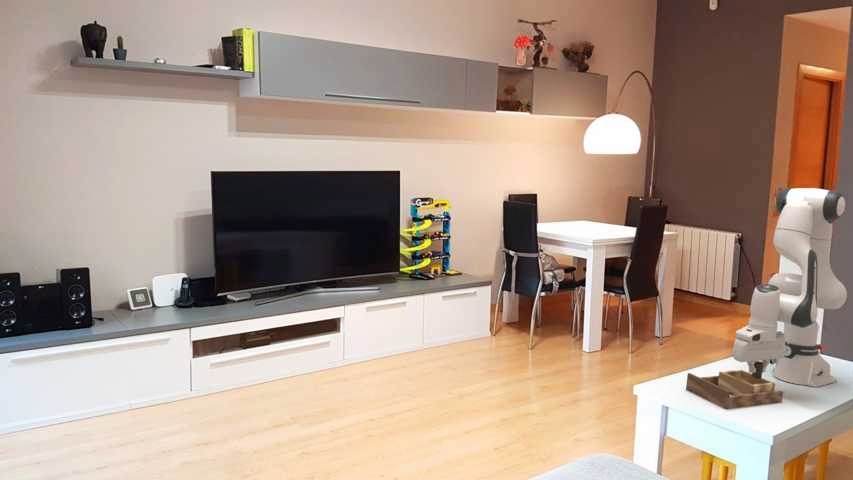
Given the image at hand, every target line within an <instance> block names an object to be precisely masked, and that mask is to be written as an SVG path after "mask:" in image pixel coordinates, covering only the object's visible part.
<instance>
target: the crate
mask: <svg viewBox="0 0 853 480" xmlns="http://www.w3.org/2000/svg"><path fill="white" fill-rule="evenodd" d="M754 367H755V368H756V373H750V372H749V371H746V370H743V369H735V370H734V369H732V370H723V371H719V372H718V376H719V378H718V386H719V387H721V388H724V389H726V390H728V391H730V396H735V395H744V394H753V393H762V392H770V391H775V388H776V387H775V386H776V383H774V382H772V381H770V380H767V379H765V378H762V376H763V372H762V370H763V361H761V360H759V361H755V364H754Z"/></svg>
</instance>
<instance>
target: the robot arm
mask: <svg viewBox="0 0 853 480" xmlns="http://www.w3.org/2000/svg"><path fill="white" fill-rule="evenodd" d="M845 208H846V198H845V196H844V195H843V193H842V192H840V191H838V190H837V191H836V190H835V189H831V190H828V189H823V188H817V187H810V188H806V187H804V188H803V187H800V188H799V187H797V188H796V187H786V188H785V187H784V188H782V189H781V190H780V191H779V192H778V194H777V195H776V199H775V209H776V211H777V212H778V214H779V216H778V220H777V221H776V222H777V223H776V226H775V230H774V233H773V234H774V235H773V242H772V243H773V247H774V249H775V250H776V252H777V253H778V254H779V255H781V256H782V257H783V258H785V259H787V260H788V261H790V262H792V263H794V264H795V265H797V267H799V268H800V270H801V274H799V273H798V274H797V273H793V272H792V273H790V272H782V273H781V272H779V273H775V274H773V275H772V276H771V277H770V279H769V281H768V283H766V284H765V283H762V284H759V285H756V286H755V288H754V289H753V293H752V297H751V301H750V309H749V311H750V317H749V320H748V325H745V326H743V327H742V328H740V329H738V330H736V331H735V337H737V338H736V339H735V340H734V343H733V347H732V348H733V349H732V357H733V360H735V361H737V362H739V363H747V366H748V373H751V374H752V373H756V368H755V367H754V364H755V361H761V362H763V370H762V373H766V371H767V367H768V366H769V364H770V359H777V362H776V363H775V366H774V367H773V368H772V372H773V376H774V377H775V378H776V379H778V380H780V381H784V382H788V383H791V384H796V385H801V386H802V385H803V386H809V387H814V388H818V387H822V386H825V385H829V384H832V383H836V382H837V381H838V380H837V378H836V377H834V376H833V375H831V364H829V363H828V362H827V360H825V359H824V358H823V356H821V355H820V351H824V350H825V345H823V344H820V343H819V344H817V343H818V333H819V328H820V327H819V323H818V321H817V317H818V309H822V310H838V309H840V308H841V307H842V306H844V304H845V302H846V301H847V297H848V292H847V289H846V287H845V285H844V284H843V283H842V282H841V281H840V280H839V279H838V278H837V277H836V275H835V273H834V272H833V270H832V267H831V264H830V252H831V245H832V244H831V243H832V237H833V223H834V221H838V219H840V218H841V217H842V216H843V214H844V211H845ZM778 322H781V323H783V331H780V330H779V331H778V325H779V324H778Z"/></svg>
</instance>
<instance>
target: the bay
mask: <svg viewBox="0 0 853 480" xmlns="http://www.w3.org/2000/svg"><path fill="white" fill-rule="evenodd" d="M718 378H719V375H713V376H704V377H703V376H701V377H700V376H697V375H695V374H694V373H690V372H687V377H686V385H685V390H686V391H688V392H689V393H692V394H694V395H695V396H698V397H700V398H702V399H704V400H706V401H708V402H709V403H712V404H714V405H716V406H718V407H721V408H722V409H725V410H731V409H732V410H733V409H738V408H739V409H741V408H748V407H756V406H765V405H772V404H773V405H774V404H780V403H782V402H783V397H784V396H783V395H784V391H783V390H774V391H770V392H762V393H753V394H744V395H735V396H733V395H730V391H728V390H726V389H724V388H721V387H719V386H718Z"/></svg>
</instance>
